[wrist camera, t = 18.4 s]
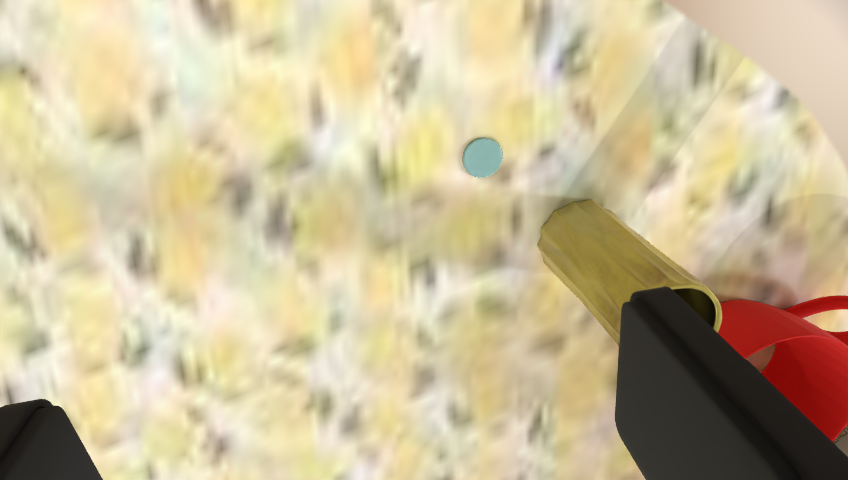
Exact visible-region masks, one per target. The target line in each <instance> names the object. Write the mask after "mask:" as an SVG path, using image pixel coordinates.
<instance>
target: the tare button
mask: <svg viewBox="0 0 848 480" xmlns="http://www.w3.org/2000/svg"><path fill="white" fill-rule="evenodd" d="M502 158H503V154H502V150H501V148H500V146H499V145H498V143H497V142H495V141H494V140H492V139H489V138H479V139H476V140H474V141H472V142H471V143H470V144H469V145H468V146H467V147H466V149H465V151H464V153H463V165H464V167H465V169H466V171H467V172H468V173H469V174H471V175H473V176H475V177H487V176H490V175H492V174H493V173H495V172H496V171H497V170H498V168H499V167H500V165H501V163H502Z"/></svg>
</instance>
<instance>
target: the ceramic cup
mask: <svg viewBox="0 0 848 480" xmlns="http://www.w3.org/2000/svg"><path fill="white" fill-rule="evenodd" d="M720 305H721V310H722V321H721V325H720V328H719V331H718V334H719V335H720V336H721V337H722V338H723V339H725V340H726V341H727V342H728V343H729V344H730V345H731V346H732V347H733V348H734V349H735V350H736V351H737V352H738V353H739V354H740V355H741V356H742V357H743V358H744V359H746V358H747V357H749V356H751V355H752V354H754V353H756V352H757V351H759V350H761V349H763V348H765V347H768V346H770V345H773V344H775V343H776V346H775V351H774V353H773V356H772V358H771V360H770V362H769V363H768V365H767V367H766V368H765V369H764V371H763V372H762V373H761V374H762V375H763V376H764V377H765V378H766V379H767V380H768V381H769V382H770V383H772V384H773V385H774V386H775V387H776V388H777V389H778V390H779V391H780V392H781V393H782V394H783V395H784V396H785V397H786V398H787V399H788V400H789V401H790V402H791V403H792V404H793V405H794V406H795V407H797V408H798V409H799V410H800V411H801V412H802V413H803V414H804V415H805V416H806V417H807V418H808V419H809V420H810V421H811V422H812V423H813V424H814V425H815V426H816V427H817V428H818V429H819V430H820V431H822V432H823V433H824V434H825V435H826V436H827V437H828V438H829V439H830V440H831V441H832V442H833V441H834V440H835V439H836V438H837V436H838V435H839V434H840V433H841V432H842V430H843V429H844V428H845V427H846V425H847V424H848V331H846V332H830V331H825V330H822V329H820V328H819V327H817V326H815V325H813V324H811V323H809V322H808V321H806V320H804V319H802V318H804V317H807V316H810V315H813V314H816V313H820V312H824V311H829V310H836V309H848V296H828V297H822V298H817V299H813V300H810V301H807V302H803V303H801V304H798V305H795V306H792V307H790V308H787V309H785V310H781V309H779V308H776V307H774V306H771V305H768V304H764V303H760V302H755V301H749V300H730V301H726V302H722V303H720Z"/></svg>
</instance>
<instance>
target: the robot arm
mask: <svg viewBox="0 0 848 480" xmlns="http://www.w3.org/2000/svg"><path fill="white" fill-rule="evenodd" d="M615 422H616V426H617V430H618V433H619V435H620V437H621V439H622V441H623V442H624V444H625V446H626V447H627V449H628V451H629V452H630V454H631V456H632V457H633V459H634V461H635V462H636V464H637V466H638V467H639V469H640V471H641V472H642V474H643V476H644V477H645V479H646V480H848V456H847V455H845V454H844V453H843V452H842V451H841V450H840V449H839V448H838V447H837V446H836V445H835V444H834V443H833V442H832V441H831V440H830V439H829V438H828V437H827V436H826V435H825V434H824V433H823V432H822V431H820V430H819V429H818V428H817V427H816V426H815V425H814V424H813V423H812V422H811V421H810V420H809V419H808V418H807V417H806V416H805V415H804V414H803V413H802V412H801V411H800V410H799V409H798V408H797V407H795V406H794V405H793V404H792V403H791V402H790V401H789V400H788V399H787V398H786V397H785V396H784V395H783V394H782V393H781V392H780V391H779V390H778V389H777V388H776V387H775V386H774V385H773V384H772V383H770V382H769V381H768V380H767V379H766V378H765V377H764V376H763V375H762V374H761V373H760V372H759V371H758V370H757V369H756V368H755V367H754V366H753V365H752V364H751V363H750V362H748V361H747V360H746V359H744V358H743V357H742V356H741V355H740V354H739V353H738V352H737V351H736V350H735V349H734V348H733V347H732V346H731V345H730V344H729V343H728V342H727V341H726V340H725V339H723V338H722V337H721V336H720V335H719V334H718V333H717V332H716V331H715V330H714V329H713V328H712V327H711V326H710V325H709V324H708V323H707V322H706V321H705V320H704V319H703V318H702V317H701V316H700V315H699V314H698V313H696V312H695V311H694V310H693V309H692V308H691V307H690V306H689V305H688V304H687V303H686V302H685V301H684V300H683V299H682V298H681V297H680V296H679V295H678V294H677V293H676V292H675V291H674V290H672V289H671V288H670V287H666V286H664V287H659V288H653V289H647V290H642V291H636V292H634V293H632V295H631V297H630V301H629V302H625V303H623V305H622V309H621V324H620V341H619V357H618V374H617V391H616V407H615ZM0 480H103V479H102V477H101V476H100V474H99V472H98V470H97V468H96V467H95V465H94V463H93V461H92V460H91V458H90V456H89V454H88V452H87V451H86V449H85V447H84V445H83V443H82V442H81V440H80V438H79V436H78V434H77V433H76V431H75V429H74V427H73V426H72V424H71V422H70V420H69V418H68V417H67V415H66V413H65V411H64V410H63V409H62V408H61V407H59V406H53V405H52V404H51V402H49V401H47V400H46V399H38V400H33V401H27V402H21V403H16V404H10V405H5V406H3V407H1V408H0Z"/></svg>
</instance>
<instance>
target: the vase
mask: <svg viewBox="0 0 848 480" xmlns="http://www.w3.org/2000/svg"><path fill="white" fill-rule="evenodd" d="M537 246H538V248H539V249H540V251H541V253H542V256H543V260H544V263H545V264H546V265H547V266H548V267H549V268H550V269H551V270H552V272H553V273H554V274H555V275H556V276H557V277H558V278H559V279H560V280H561V281H562V282H563V283H564V284H565V285H566V286H567V287H568V288H569V289H570V290H571V291H572V292H573V293H574V294H575V295H576V296H577V297H578V298H579V299H580V300H581V301H582V302H583V304H584V305H585V306H586V307H587V308H588V309H589V310H590V312H591V313H592V314H593V315H594V316H595V318H596V319H597V320H598V321H599V322H600V323H601V325H602V326H603V327H604V328H605V330H606V331H607V332H608V333H609V334H610V336H611V337H612V338H613V339H614V341H615V342H616V343H617V344H618V345H619V341H620V324H621V309H622V305H623V303H625V302H629V301H630V297H631V295H632V293H634V292H636V291H642V290H647V289H653V288H659V287H664V286H666V287H670V288H671V289H672V290H674V291H675V292H676V293H677V294H678V295H679V296H680V297H681V298H682V299H683V300H684V301H685V302H686V303H687V304H688V305H689V306H690V307H691V308H692V309H693V310H694V311H695V312H696V313H698V314H699V315H700V316H701V317H702V318H703V319H704V320H705V321H706V322H707V323H708V324H709V325H710V326H711V327H712V328H713V329H714V330H715V331H716V332H717V333H718V331H719V328H720V325H721V321H722V310H721V305H720V302H719V300H718V299H717V298H716V296H715V295H714V294H713V292H712V291H711V290H710V289H709V288H707V287H706V286H705V285H704V284H703V283H701V282H700V281H698V280H697V279H696V278H695V277H693V276H692V275H691V274H689V273H688V272H687V271H686V270H684V269H683V268H682V267H681V266H679V265H678V264H677V263H675V262H674V261H672V260H671V259H670V258H668V257H667V256H666V255H664V254H663V253H662V252H660V251H659V250H658V249H657V248H655V247H654V246H653V245H652V244H650V243H649V242H648V241H647V240H645V239H644V238H643V237H642V236H640V235H639V234H638V233H636V232H635V231H634V230H632V229H631V228H630V227H628V226H627V225H626V224H625V223H624V222H623V221H622V220H620V219H619V218H618V217H617V216H616V215H615V214H614V213H613V212H612V211H610V210H606V209H603V208H601V207H600V206H599V205H598V204H596V203H595V202H594V201H593V200H586V201H582V202H571V203H570V204H568V205H567V206H565V207H563V208H560V209H557V210H555V211H554V212H553V214H552V216H551V217H550V219H549V221H548V222H546V223H545V224H544V225H543V226H542V227H541V238H540V241H539V243H538V245H537Z"/></svg>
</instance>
